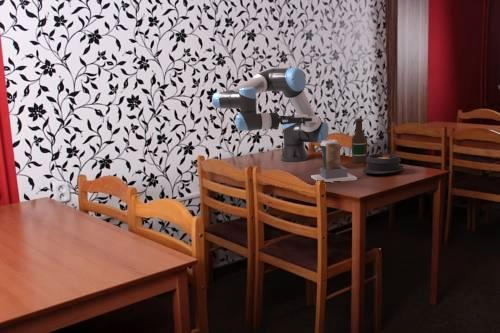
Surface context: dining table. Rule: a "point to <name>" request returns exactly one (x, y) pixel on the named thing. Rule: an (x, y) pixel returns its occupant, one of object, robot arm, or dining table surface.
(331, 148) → the walnut slat
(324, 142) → the coffee cup
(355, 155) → the beer bottle
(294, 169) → the dining table surface
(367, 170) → the casserole
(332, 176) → the end cap plate
